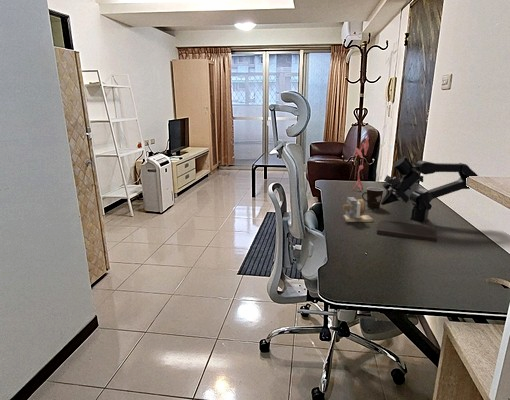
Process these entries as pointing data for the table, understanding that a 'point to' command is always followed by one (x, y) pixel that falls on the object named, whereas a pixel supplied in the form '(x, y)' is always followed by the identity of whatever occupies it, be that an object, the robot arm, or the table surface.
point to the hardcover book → (407, 230)
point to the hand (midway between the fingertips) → (381, 204)
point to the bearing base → (362, 219)
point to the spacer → (358, 210)
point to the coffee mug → (373, 197)
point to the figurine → (362, 161)
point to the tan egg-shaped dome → (362, 209)
